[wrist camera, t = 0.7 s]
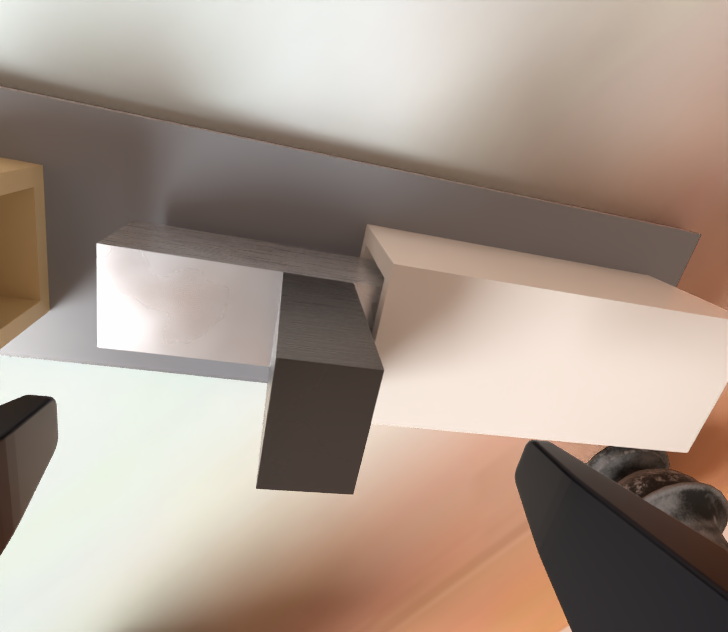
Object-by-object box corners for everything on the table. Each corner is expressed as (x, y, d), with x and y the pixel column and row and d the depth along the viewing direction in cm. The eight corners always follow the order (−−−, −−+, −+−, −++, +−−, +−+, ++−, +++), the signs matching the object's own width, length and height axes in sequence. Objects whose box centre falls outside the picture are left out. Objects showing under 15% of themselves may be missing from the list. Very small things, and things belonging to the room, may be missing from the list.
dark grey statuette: (575, 532, 26) (776, 830, 15) (563, 456, 24) (793, 744, 13) (673, 499, 26) (944, 772, 15) (672, 419, 24) (993, 676, 13)
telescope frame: (600, 407, 23) (696, 498, 17) (-86, 331, 17) (-269, 432, 11) (682, 229, 19) (833, 271, 14) (-131, 58, 14) (-417, 18, 8)
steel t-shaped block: (573, 364, 19) (745, 517, 12) (132, 307, 16) (-13, 472, 8) (601, 297, 18) (811, 420, 11) (134, 219, 14) (-30, 321, 7)
